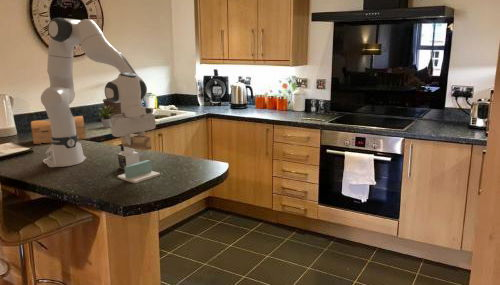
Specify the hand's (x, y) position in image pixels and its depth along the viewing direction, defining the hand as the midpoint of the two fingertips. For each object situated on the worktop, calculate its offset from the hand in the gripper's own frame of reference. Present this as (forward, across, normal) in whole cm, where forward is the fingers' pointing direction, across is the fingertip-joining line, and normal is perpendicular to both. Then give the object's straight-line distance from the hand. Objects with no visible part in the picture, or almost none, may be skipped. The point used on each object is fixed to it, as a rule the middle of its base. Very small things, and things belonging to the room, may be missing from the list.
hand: (135, 143), depth 181 cm
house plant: (+15, +55, +117) cm, 130 cm away
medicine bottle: (+15, +6, +16) cm, 23 cm away
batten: (+2, 0, 0) cm, 2 cm away
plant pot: (+15, +78, +142) cm, 163 cm away
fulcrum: (+15, 0, 0) cm, 15 cm away
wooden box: (+15, +17, +109) cm, 111 cm away
